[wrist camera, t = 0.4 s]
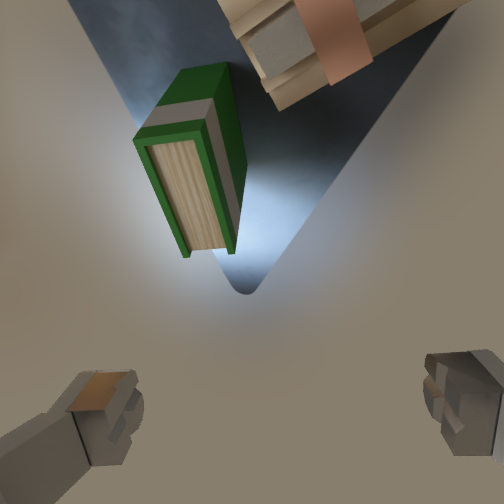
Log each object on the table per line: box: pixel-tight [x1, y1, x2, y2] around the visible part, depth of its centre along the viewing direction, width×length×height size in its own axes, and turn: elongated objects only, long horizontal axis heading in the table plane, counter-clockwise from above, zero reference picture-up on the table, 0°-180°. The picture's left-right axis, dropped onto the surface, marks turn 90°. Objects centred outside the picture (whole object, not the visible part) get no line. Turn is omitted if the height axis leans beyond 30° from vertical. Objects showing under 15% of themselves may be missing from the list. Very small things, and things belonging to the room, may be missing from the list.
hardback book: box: [133, 62, 248, 258], centre depth 49 cm, size 18×7×24 cm, turn 10°
